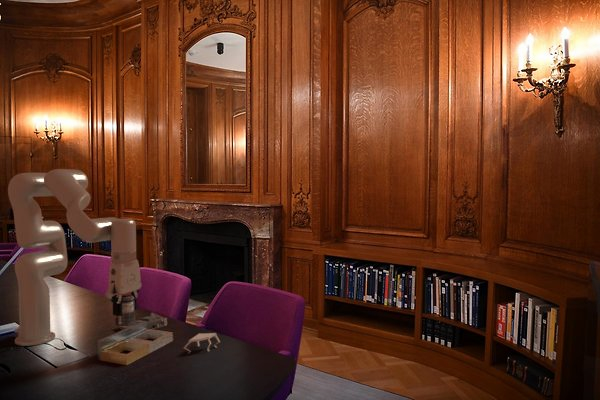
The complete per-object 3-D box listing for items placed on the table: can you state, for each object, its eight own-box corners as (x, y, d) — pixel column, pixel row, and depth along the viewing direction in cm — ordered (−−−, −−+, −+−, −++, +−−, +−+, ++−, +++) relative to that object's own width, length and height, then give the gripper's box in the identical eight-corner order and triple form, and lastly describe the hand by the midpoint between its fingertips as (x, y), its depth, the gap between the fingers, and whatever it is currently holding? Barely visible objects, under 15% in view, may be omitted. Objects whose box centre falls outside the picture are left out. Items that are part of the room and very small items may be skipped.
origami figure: (203, 342, 163) (203, 329, 163) (221, 347, 159) (221, 333, 158) (177, 353, 153) (177, 339, 153) (196, 358, 149) (196, 343, 148)
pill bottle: (118, 321, 152) (118, 287, 151) (137, 321, 152) (136, 287, 152) (112, 327, 146) (112, 292, 146) (132, 327, 146) (131, 291, 146)
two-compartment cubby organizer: (96, 359, 147) (96, 341, 147) (145, 336, 169) (145, 320, 169) (126, 365, 143) (126, 346, 143) (172, 340, 165) (172, 324, 165)
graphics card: (153, 311, 191) (167, 317, 182) (153, 320, 191) (167, 326, 182) (112, 320, 179) (125, 326, 171) (113, 330, 179) (125, 337, 171)
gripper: (113, 262, 139) (114, 321, 140) (151, 253, 155) (151, 306, 156) (94, 260, 142) (95, 318, 142) (133, 252, 158) (133, 304, 158)
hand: (124, 311), depth 149 cm, fingers closed on pill bottle, 6 cm apart
